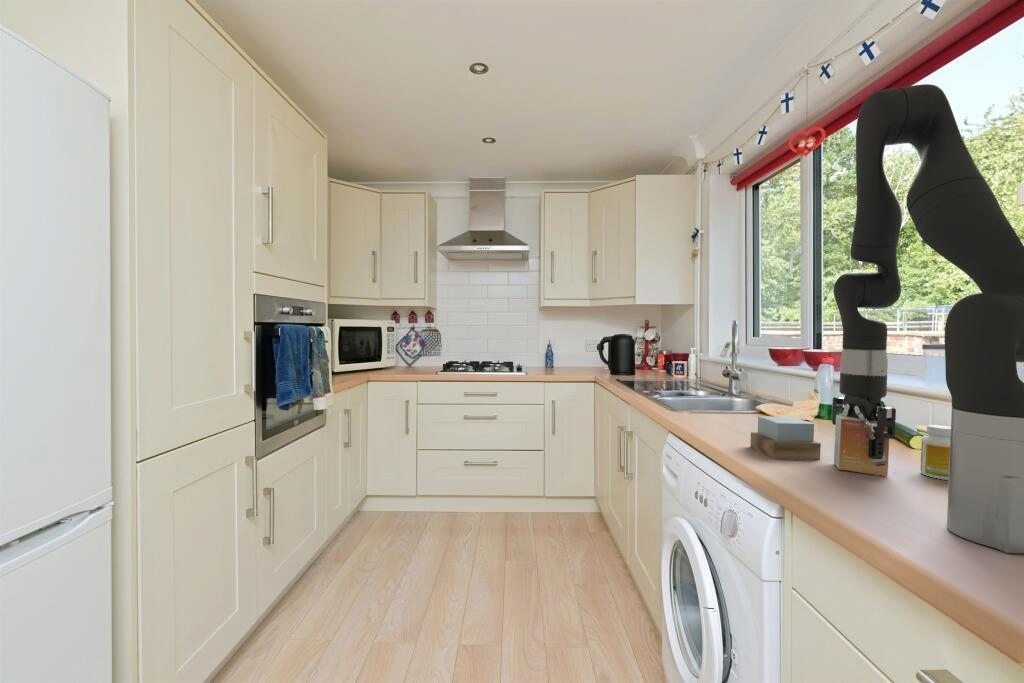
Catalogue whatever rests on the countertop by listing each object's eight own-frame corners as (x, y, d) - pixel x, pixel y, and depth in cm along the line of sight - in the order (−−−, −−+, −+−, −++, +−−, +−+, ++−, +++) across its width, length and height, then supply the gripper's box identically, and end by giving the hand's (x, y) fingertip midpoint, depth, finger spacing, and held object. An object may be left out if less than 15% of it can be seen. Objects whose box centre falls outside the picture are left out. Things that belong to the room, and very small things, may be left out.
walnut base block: (820, 461, 98) (820, 443, 98) (773, 460, 98) (774, 442, 98) (792, 449, 108) (792, 432, 108) (750, 448, 108) (750, 432, 108)
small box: (837, 470, 91) (839, 418, 90) (833, 463, 96) (834, 414, 95) (888, 477, 87) (890, 422, 87) (881, 469, 92) (883, 418, 91)
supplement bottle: (966, 482, 85) (968, 430, 84) (932, 479, 86) (934, 429, 85) (944, 473, 90) (946, 424, 90) (913, 471, 91) (915, 423, 91)
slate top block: (813, 441, 100) (814, 423, 100) (777, 441, 100) (778, 423, 99) (791, 433, 108) (791, 416, 107) (757, 432, 108) (758, 416, 107)
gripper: (912, 376, 83) (909, 464, 84) (856, 369, 98) (853, 444, 98) (871, 375, 84) (868, 463, 84) (820, 368, 98) (818, 443, 98)
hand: (860, 453), depth 91 cm, fingers closed on small box, 7 cm apart
